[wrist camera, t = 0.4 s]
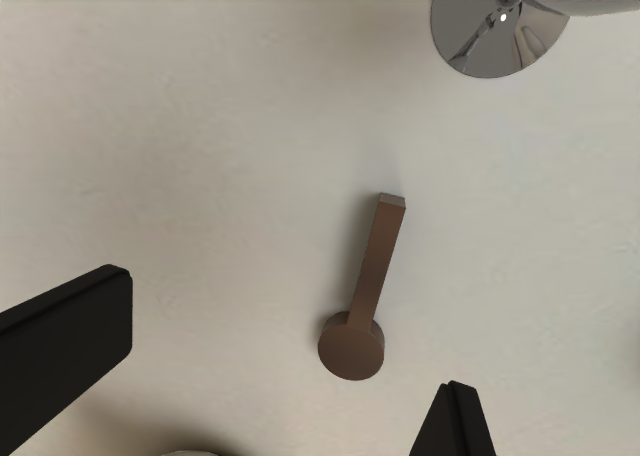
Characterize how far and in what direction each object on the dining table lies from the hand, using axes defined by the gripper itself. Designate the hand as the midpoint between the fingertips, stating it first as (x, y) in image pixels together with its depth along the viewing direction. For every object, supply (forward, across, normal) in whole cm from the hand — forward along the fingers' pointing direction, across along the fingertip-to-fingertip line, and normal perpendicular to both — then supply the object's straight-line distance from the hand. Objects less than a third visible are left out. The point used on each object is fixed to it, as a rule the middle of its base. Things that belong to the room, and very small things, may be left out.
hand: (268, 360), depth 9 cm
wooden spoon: (+14, -3, +5) cm, 16 cm away
